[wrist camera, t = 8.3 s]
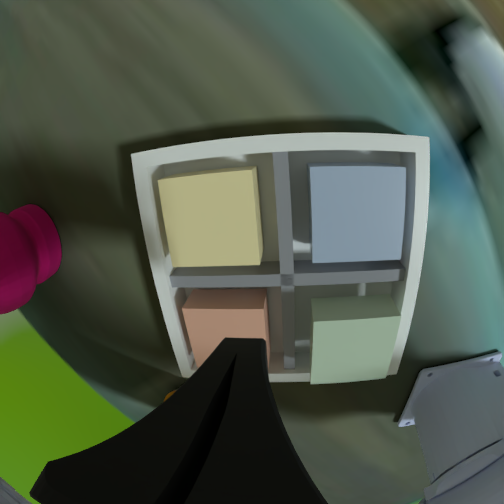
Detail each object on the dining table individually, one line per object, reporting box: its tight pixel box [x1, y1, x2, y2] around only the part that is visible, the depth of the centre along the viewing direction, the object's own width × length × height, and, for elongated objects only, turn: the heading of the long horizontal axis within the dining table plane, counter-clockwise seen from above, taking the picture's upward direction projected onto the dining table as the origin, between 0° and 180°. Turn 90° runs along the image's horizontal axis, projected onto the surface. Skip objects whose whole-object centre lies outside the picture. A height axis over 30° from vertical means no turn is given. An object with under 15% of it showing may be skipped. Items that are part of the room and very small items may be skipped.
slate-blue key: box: [306, 162, 406, 263], centre depth 13 cm, size 4×4×2 cm
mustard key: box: [158, 166, 264, 267], centre depth 14 cm, size 4×4×2 cm
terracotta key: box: [182, 289, 271, 369], centre depth 17 cm, size 4×4×2 cm
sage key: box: [309, 294, 401, 384], centre depth 15 cm, size 4×4×2 cm
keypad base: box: [131, 132, 430, 382], centre depth 16 cm, size 14×14×2 cm
